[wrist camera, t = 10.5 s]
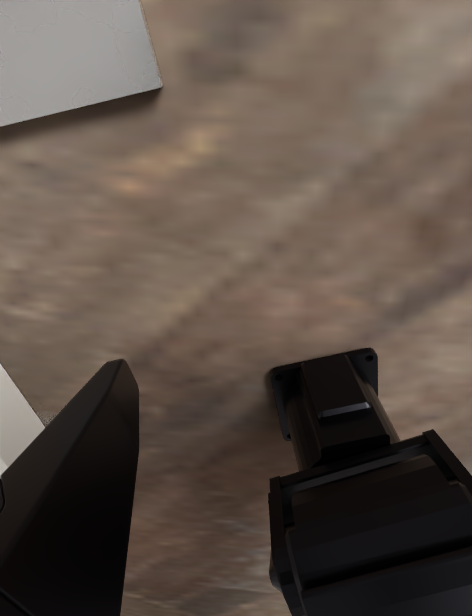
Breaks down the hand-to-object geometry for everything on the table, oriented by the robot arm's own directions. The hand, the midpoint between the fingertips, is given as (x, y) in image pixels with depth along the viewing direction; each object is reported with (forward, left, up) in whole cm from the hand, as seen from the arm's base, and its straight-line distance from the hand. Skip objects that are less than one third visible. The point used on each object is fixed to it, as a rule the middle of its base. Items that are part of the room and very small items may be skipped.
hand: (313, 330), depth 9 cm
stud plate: (+10, +8, -11) cm, 17 cm away
